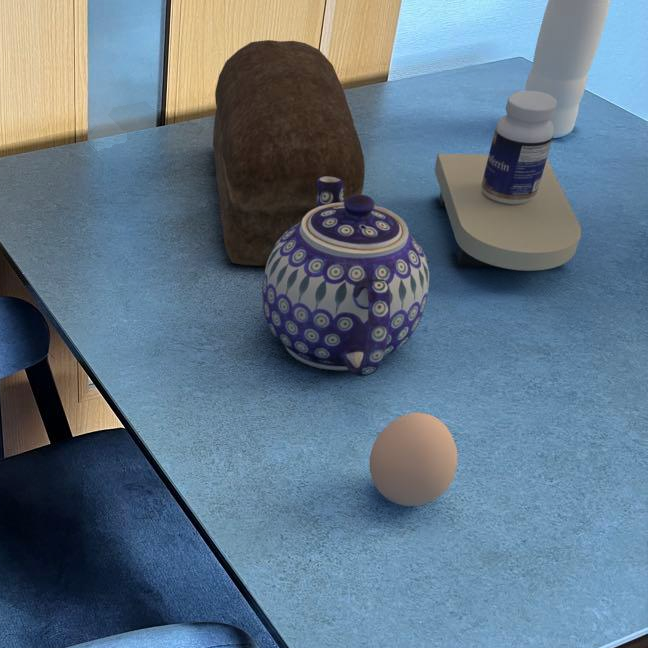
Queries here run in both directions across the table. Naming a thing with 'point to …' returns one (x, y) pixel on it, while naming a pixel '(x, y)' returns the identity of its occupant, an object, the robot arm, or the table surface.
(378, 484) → the egg
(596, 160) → the table surface
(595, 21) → the water bottle
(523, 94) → the pill bottle
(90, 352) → the table surface
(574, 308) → the table surface
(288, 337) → the teapot
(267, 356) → the table surface
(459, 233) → the beige rounded board
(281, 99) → the bread
